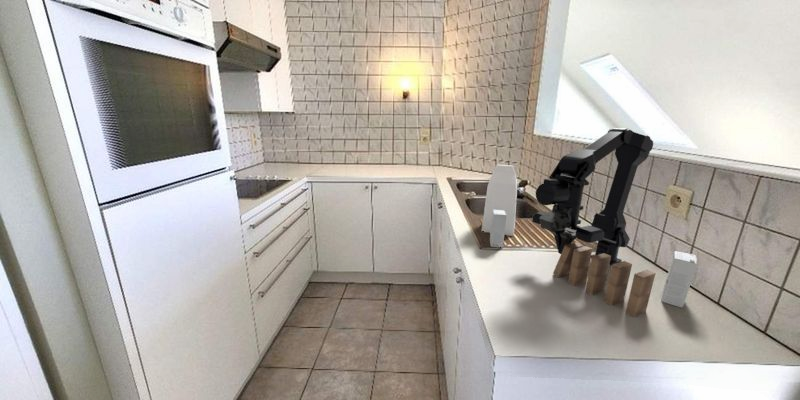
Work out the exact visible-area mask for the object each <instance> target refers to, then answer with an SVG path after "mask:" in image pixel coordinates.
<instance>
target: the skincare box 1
mask: <svg viewBox="0 0 800 400" xmlns="http://www.w3.org/2000/svg"><path fill="white" fill-rule="evenodd" d="M506 216H507V215H506V213H505V211H504V210H493V213H492V223H491V232H490V234H489V243H490V247H491V248H500V247H501V248H504V244H505V243H504V240H505V235H504V234H505V225H506Z"/></svg>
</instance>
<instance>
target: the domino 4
mask: <svg viewBox="0 0 800 400" xmlns="http://www.w3.org/2000/svg"><path fill="white" fill-rule="evenodd" d="M632 267H633V263H631V262H628V261H626V260H624V261H621V262H618V263H615V264H611V267H610V272H609V275H608V276H609V277H608V282H607V286H606V290H605V296H604V301H603V302H604V303H606V304H608V305H611V306H613V305H616V304H620V303H622V302H624V301H625V298H626V294H627V293H626V292H627V288H628V284H629V281H630V276H631V271H632Z"/></svg>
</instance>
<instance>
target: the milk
mask: <svg viewBox="0 0 800 400" xmlns="http://www.w3.org/2000/svg"><path fill="white" fill-rule="evenodd" d="M517 194H518V180H517V175H516V170H515V168H514V165H510V164H509V165H508V164H496V166H495V168H494V169H493V172H492V174H491V176H490V179H489V181H488V184H487V189H486V194H485V202H484V210H483V218H482V224H481V232H482V231H484V232H483V233H490V232H491V223H492V213H493V210H504V211H505V213H506V215H507V216H506V225H505V234H504V236H505V235H506V236H510V237H511V236H512V237H514V235H515V226H516V215H517V213H516V212H517V211H516V210H517V197H518V196H517Z"/></svg>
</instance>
